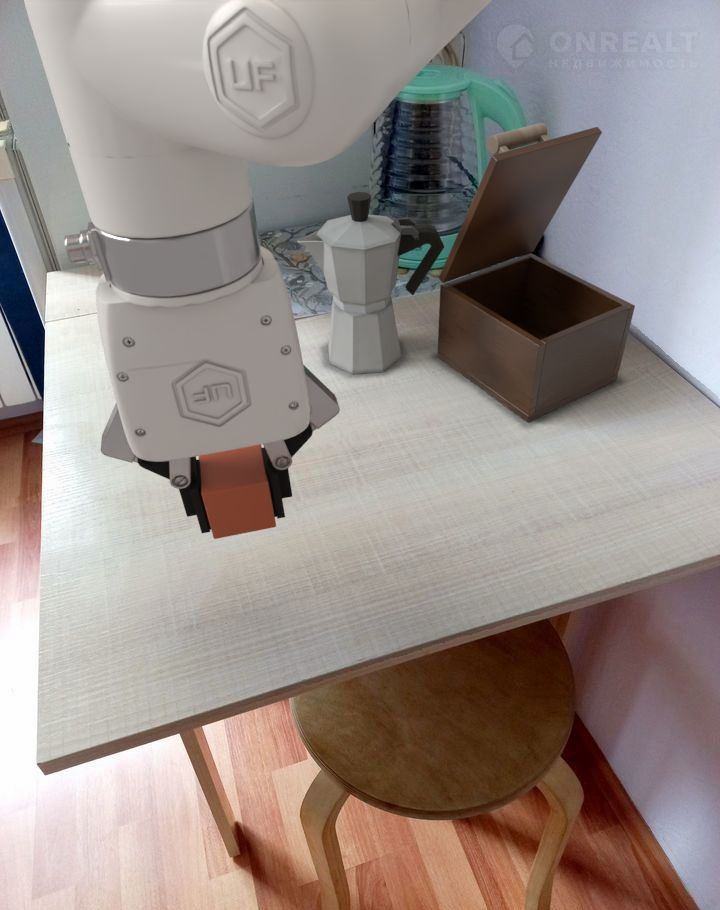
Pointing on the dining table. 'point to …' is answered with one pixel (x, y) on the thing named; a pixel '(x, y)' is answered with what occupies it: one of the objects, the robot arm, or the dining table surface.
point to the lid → (517, 196)
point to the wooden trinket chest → (532, 334)
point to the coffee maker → (367, 281)
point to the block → (236, 492)
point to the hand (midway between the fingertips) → (241, 508)
